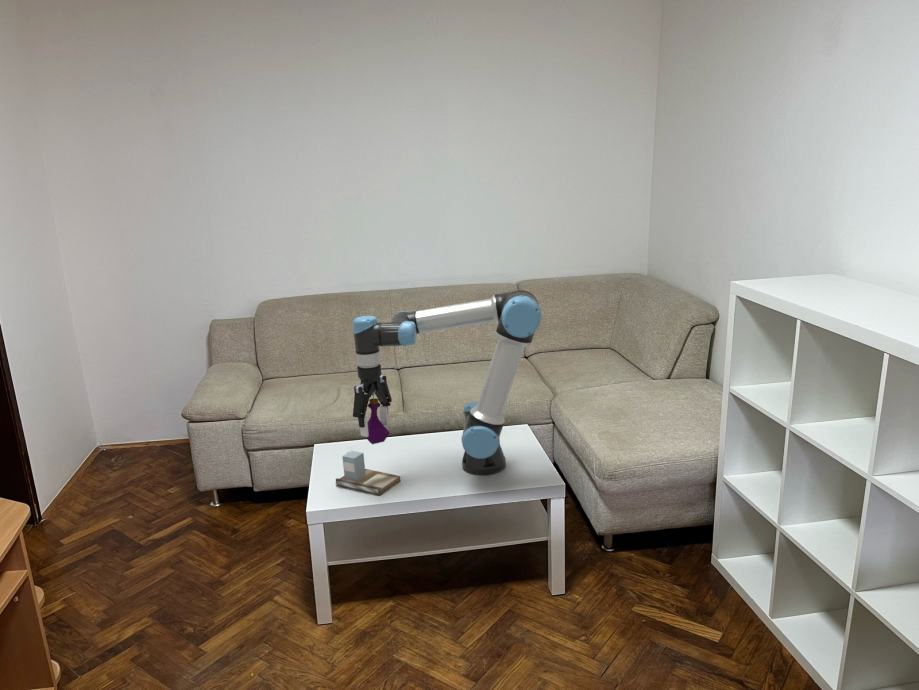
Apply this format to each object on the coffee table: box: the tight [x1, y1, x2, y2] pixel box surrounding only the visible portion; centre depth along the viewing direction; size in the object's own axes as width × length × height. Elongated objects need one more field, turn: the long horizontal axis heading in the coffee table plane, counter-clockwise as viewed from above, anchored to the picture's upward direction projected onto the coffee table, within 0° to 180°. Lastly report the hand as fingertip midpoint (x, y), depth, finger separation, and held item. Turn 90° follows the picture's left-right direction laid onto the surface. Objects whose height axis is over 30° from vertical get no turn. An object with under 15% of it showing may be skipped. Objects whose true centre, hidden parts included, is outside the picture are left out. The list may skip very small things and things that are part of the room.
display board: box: [335, 468, 401, 497], centre depth 241 cm, size 18×12×3 cm, turn 60°
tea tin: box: [341, 450, 366, 481], centre depth 242 cm, size 5×5×8 cm
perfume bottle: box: [365, 390, 390, 445], centre depth 233 cm, size 8×8×18 cm
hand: (375, 430), depth 234 cm, fingers closed on perfume bottle, 10 cm apart
